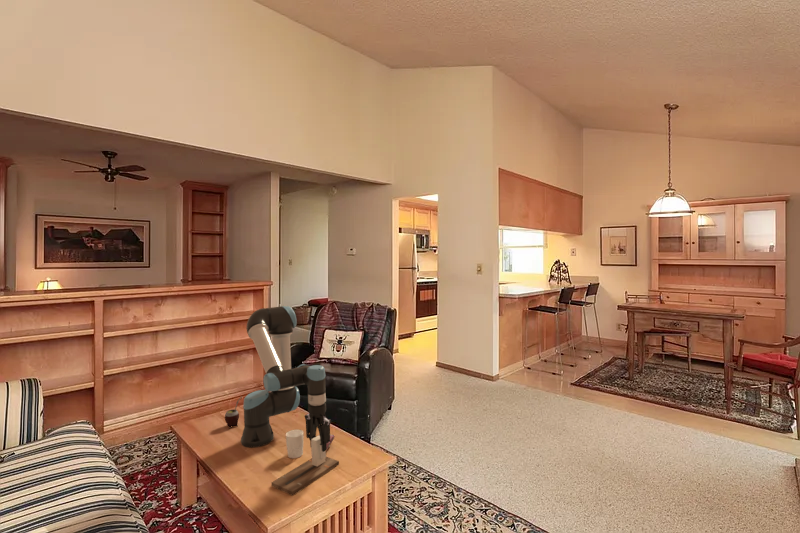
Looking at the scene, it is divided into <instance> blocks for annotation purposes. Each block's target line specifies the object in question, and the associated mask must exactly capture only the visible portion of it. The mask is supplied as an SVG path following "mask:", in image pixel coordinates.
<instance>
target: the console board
mask: <svg viewBox="0 0 800 533" xmlns="http://www.w3.org/2000/svg"><path fill="white" fill-rule="evenodd" d="M325 459H326V461H325V462H324V463H322V464H321V465H319V466H314V465H312V457H311V458H310V459H308V460H306V461H305V462H303V463H302V464H299V465H298V466H296V467H295V468H293V469H292V470H289V471H288V472H286V473H284V475H281V476H280V477H278V478H277V479H275V480H273V481H271V487H273V488H275V489H277V490H279V491H281V492H283V493H286V494H288V495H290V496H292V497H293V496H294V495H296V494H297V493H298V492H300V491H301V490H303V489H304V488H307V487H308V486H309V485H311V484H312V483H314V482H315V481H317V480H318V479H319V478H320V479H321V477H323V476H324V475H326V474H327V473H329V472H330V471H332V470H333V469H335V468H336V467H338V466H339V465H340V461H339V460H337V459H333V458H331V457H329V456H326V457H325Z"/></svg>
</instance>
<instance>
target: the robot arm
mask: <svg viewBox="0 0 800 533" xmlns="http://www.w3.org/2000/svg"><path fill="white" fill-rule="evenodd" d="M297 321H298V320H297V315H296V313H295V310H294V309H293V308H292V307H291V306H289V305H287V306H283V305H282V306H272V307H267V308H266V307H263V308H259V309H256V310H255V311H253V313H251V315H249V318H248V319H247V323H246V327H245V328H246V333H247V336H248V337H249V339H251V340H252V341H253V344H254V347H255V349H256V351H257V354H258V357H259V359H260V362H261V365H262V367H263V369H264V373H265V374H264V375H263V380H262V381H263V387H264V389H262V390H261V389H258V390H255V391H253V392H250V393H248V394H247V395H246V396H245V397H244V398H243V406H242V407H243V420H244V421H243V423H244V424H243V426H244V427H243V431H242V434H241V438H240V443H241V444H240V445H242V446H243V447H245V448H258V447H263V446H265V445H268V444H270V443H271V442H273V440H274V434H275V433H274V430H273V428H272V426H271V424H270V418H271V417H273V416H278V415H281V414H286V413H290V412H293V411H295V410H297V408H298V407H299V406H300V401H301V400H300V399H301V397H300V396H301V395H300V390H299V388H298V386H302V385H305V386H307V404H308V405H307V414H305V415H304V419H305V420H304V421H305V435H306V439H309V441H310V445H309V446H310V448H311V455H312V446H311V439H313V438H315V437H316V435H317V429H318V434H319V435H320V440H321V443H320V459H321V460H322V459H323V458H325V457H327V454H326V453H327V452H326V451H327V450H328V449H327V448H326V444H327V443H328V442H330V434H331V422H332V420H331V419H328V418H327V417H326V412H327V396H326V393H327V391H326V369H325V367H324V366H323V365H320V364H314V365H308V364H303V363H302V364H299V365H298V366H297V367H295V368H292V354H291V352H292V351H291V335H292V334H293V332H294V330H293V329H295V328H296V327H297V324H298V322H297ZM271 337H272V338H271ZM326 449H327V450H326Z"/></svg>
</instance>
